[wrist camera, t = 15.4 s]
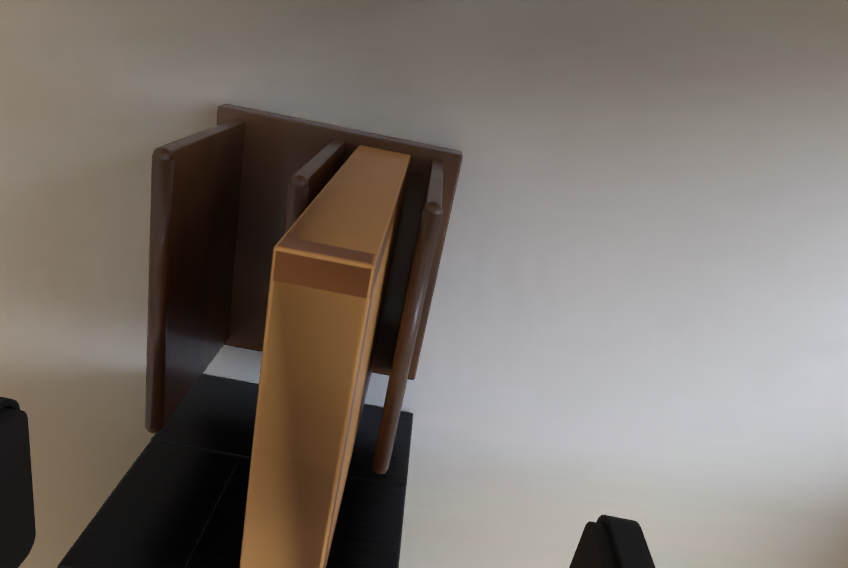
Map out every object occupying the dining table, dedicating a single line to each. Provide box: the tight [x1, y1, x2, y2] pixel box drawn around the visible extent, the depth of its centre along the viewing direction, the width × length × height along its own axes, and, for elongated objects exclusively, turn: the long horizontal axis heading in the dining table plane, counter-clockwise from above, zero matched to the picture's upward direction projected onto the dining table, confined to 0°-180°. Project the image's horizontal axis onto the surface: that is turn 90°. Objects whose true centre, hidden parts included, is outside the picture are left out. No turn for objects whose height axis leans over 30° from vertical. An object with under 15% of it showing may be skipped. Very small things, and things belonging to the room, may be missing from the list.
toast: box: [240, 145, 411, 568], centre depth 17 cm, size 8×2×11 cm, turn 169°
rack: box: [145, 104, 462, 474], centre depth 20 cm, size 9×8×7 cm
